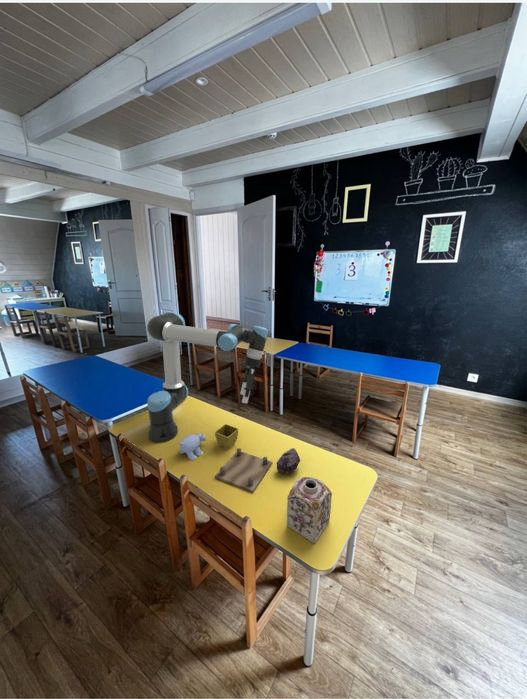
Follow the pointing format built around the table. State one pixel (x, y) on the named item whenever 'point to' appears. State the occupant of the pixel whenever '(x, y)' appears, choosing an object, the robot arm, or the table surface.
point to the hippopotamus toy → (192, 445)
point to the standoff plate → (244, 470)
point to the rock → (288, 461)
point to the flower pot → (226, 436)
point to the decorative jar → (309, 507)
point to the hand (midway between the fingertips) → (243, 398)
